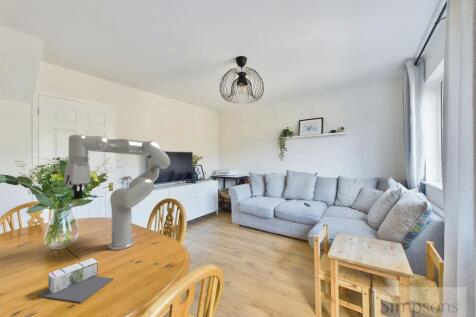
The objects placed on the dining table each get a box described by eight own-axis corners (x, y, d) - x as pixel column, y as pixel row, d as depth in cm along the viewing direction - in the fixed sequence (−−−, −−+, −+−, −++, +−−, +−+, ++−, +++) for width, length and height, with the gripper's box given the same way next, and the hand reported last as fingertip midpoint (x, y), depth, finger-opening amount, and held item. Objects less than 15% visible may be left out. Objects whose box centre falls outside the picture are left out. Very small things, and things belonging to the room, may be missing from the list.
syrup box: (92, 257, 89) (47, 272, 77) (98, 261, 85) (52, 278, 74) (92, 270, 89) (47, 288, 77) (98, 275, 86) (52, 294, 74)
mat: (75, 274, 87) (75, 273, 87) (113, 279, 84) (113, 278, 84) (37, 296, 73) (37, 295, 73) (81, 303, 70) (81, 301, 70)
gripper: (85, 160, 109) (85, 195, 109) (56, 160, 94) (55, 201, 94) (98, 160, 108) (97, 196, 108) (70, 160, 93) (69, 202, 93)
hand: (78, 198), depth 101 cm, fingers closed
